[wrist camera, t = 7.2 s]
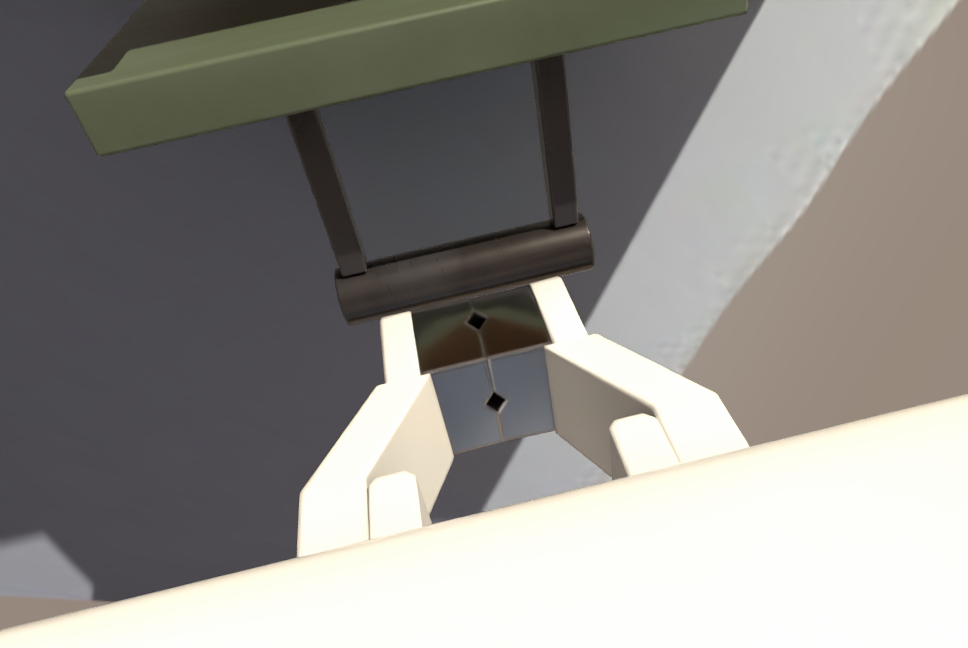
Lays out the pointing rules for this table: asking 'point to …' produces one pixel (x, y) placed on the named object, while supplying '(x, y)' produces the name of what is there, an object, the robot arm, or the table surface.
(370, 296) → the drawer
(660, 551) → the robot arm
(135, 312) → the table surface
